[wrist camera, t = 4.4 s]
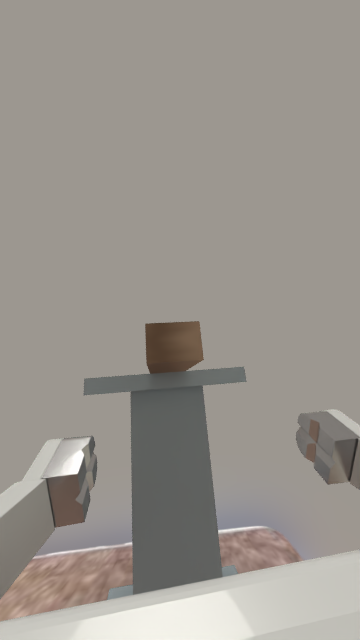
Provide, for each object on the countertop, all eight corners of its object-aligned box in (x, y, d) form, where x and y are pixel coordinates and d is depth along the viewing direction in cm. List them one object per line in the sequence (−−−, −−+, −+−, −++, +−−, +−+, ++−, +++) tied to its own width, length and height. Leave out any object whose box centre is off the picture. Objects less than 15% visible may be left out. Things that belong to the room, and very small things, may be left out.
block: (146, 363, 13) (145, 323, 14) (152, 379, 34) (151, 363, 35) (203, 359, 14) (199, 321, 14) (174, 377, 34) (173, 361, 35)
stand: (62, 822, 13) (84, 378, 21) (109, 605, 26) (112, 382, 34) (306, 746, 15) (243, 366, 23) (236, 579, 28) (211, 375, 36)
